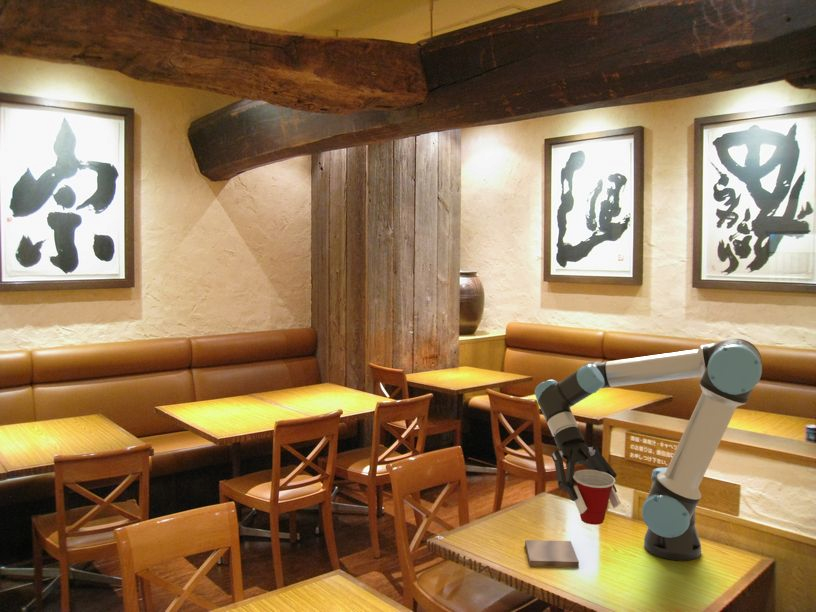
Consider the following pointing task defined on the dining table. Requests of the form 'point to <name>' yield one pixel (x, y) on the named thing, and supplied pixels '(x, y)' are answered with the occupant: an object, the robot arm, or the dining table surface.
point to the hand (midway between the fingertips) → (600, 508)
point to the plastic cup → (594, 493)
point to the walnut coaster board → (551, 553)
